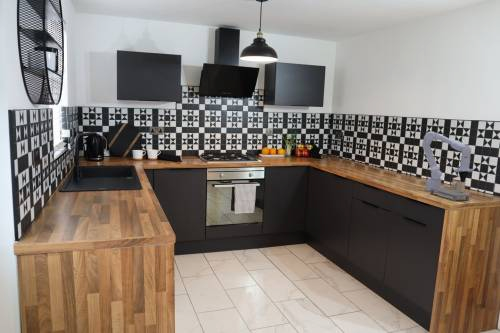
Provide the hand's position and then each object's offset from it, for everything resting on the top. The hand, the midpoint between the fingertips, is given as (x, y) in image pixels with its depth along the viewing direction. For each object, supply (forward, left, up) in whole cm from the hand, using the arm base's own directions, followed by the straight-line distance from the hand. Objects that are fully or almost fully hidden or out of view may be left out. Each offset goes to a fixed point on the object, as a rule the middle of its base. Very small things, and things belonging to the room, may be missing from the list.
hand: (462, 181), depth 276 cm
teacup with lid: (-8, +12, -10) cm, 17 cm away
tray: (+1, -16, -9) cm, 19 cm away
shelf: (0, -19, -9) cm, 21 cm away
